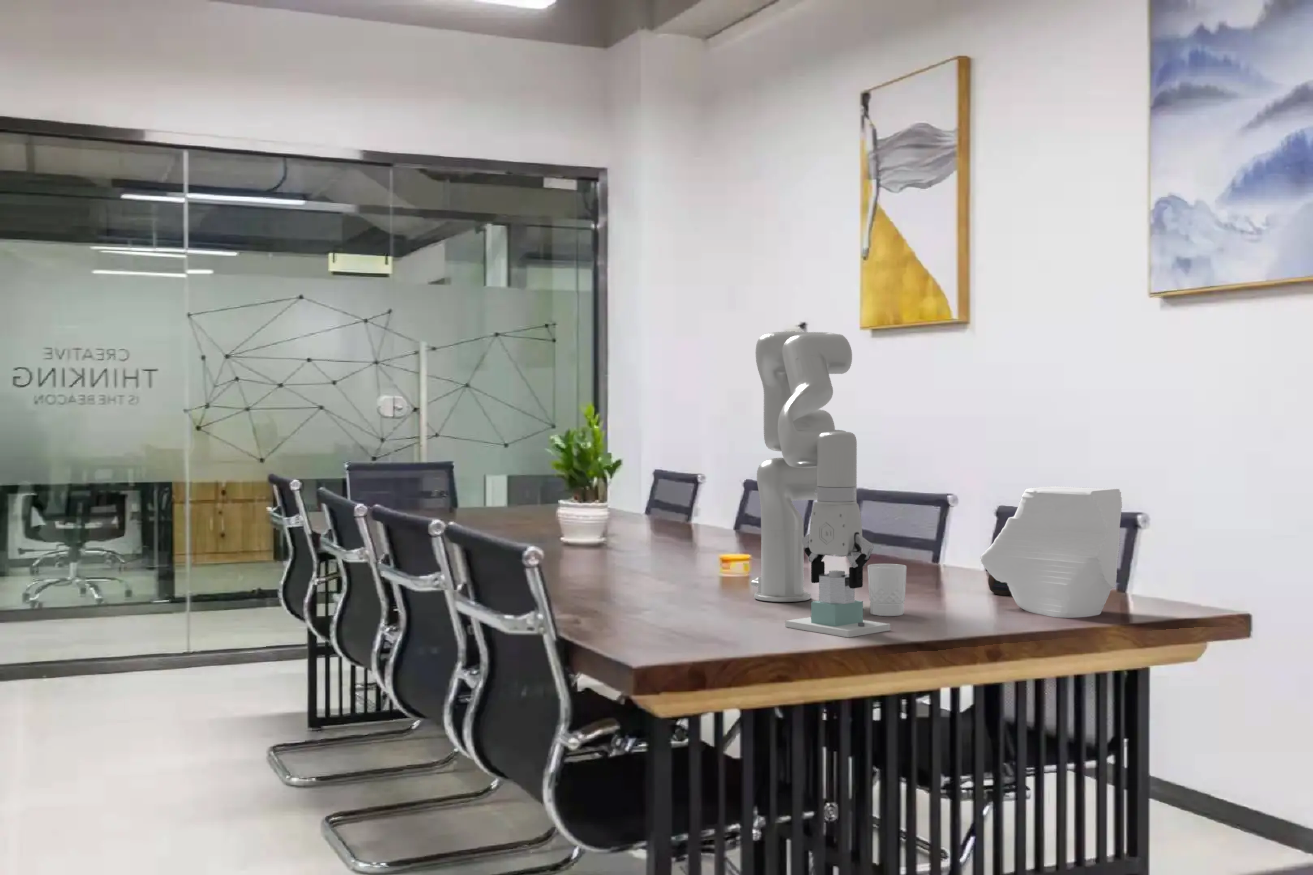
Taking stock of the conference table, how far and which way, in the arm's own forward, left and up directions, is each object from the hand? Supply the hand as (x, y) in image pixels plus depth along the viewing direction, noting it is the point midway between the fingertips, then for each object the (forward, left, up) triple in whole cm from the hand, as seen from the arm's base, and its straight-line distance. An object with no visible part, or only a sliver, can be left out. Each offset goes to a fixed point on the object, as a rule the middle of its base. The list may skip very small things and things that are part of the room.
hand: (836, 584), depth 245 cm
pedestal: (0, 0, -8) cm, 8 cm away
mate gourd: (-8, +66, -9) cm, 67 cm away
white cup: (-6, +22, -9) cm, 24 cm away
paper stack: (+14, +54, -9) cm, 56 cm away
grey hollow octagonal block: (0, 0, -3) cm, 3 cm away
